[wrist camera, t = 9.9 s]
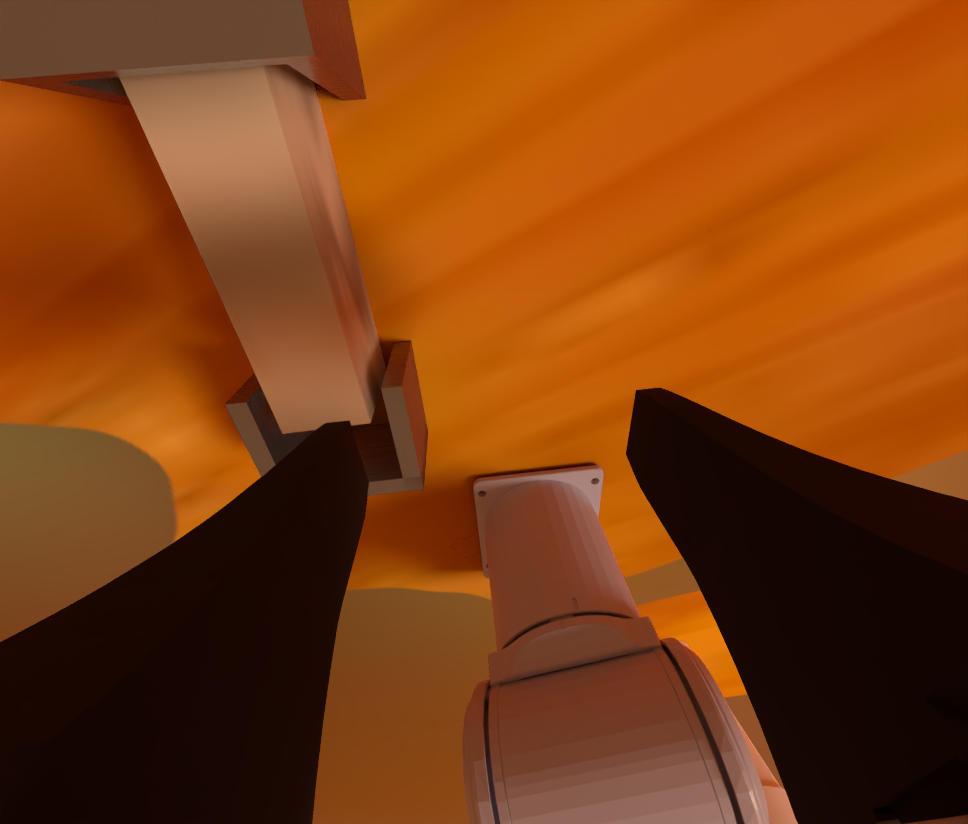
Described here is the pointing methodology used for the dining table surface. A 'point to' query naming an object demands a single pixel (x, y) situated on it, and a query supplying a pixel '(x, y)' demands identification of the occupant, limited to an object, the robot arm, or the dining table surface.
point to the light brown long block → (270, 232)
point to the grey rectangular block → (173, 42)
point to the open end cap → (383, 448)
